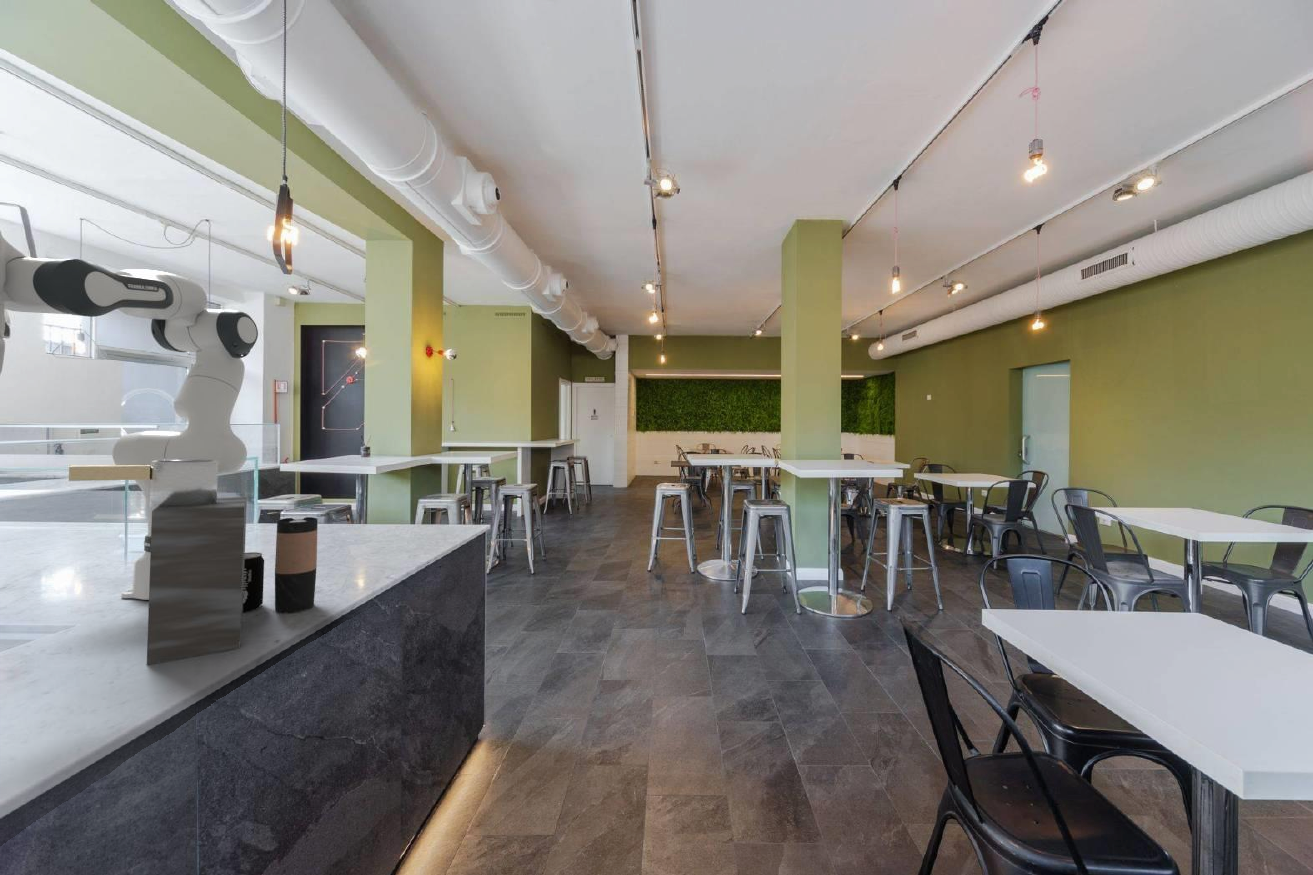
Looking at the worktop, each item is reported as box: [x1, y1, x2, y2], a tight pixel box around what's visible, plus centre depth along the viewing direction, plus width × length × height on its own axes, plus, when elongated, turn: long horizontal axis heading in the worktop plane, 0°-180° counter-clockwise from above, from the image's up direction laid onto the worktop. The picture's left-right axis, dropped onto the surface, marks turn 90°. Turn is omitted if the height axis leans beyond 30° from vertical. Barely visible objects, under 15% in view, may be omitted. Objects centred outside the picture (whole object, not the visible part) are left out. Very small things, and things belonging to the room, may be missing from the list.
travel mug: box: [274, 516, 318, 614], centre depth 113 cm, size 8×8×20 cm
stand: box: [146, 496, 248, 666], centre depth 94 cm, size 16×12×26 cm
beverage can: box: [243, 551, 265, 613], centre depth 111 cm, size 7×7×12 cm
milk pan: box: [68, 459, 219, 508], centre depth 89 cm, size 9×18×8 cm, turn 128°
